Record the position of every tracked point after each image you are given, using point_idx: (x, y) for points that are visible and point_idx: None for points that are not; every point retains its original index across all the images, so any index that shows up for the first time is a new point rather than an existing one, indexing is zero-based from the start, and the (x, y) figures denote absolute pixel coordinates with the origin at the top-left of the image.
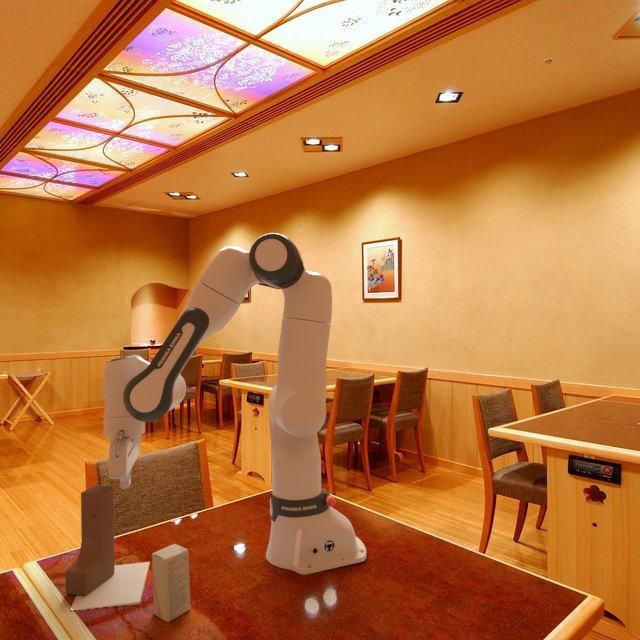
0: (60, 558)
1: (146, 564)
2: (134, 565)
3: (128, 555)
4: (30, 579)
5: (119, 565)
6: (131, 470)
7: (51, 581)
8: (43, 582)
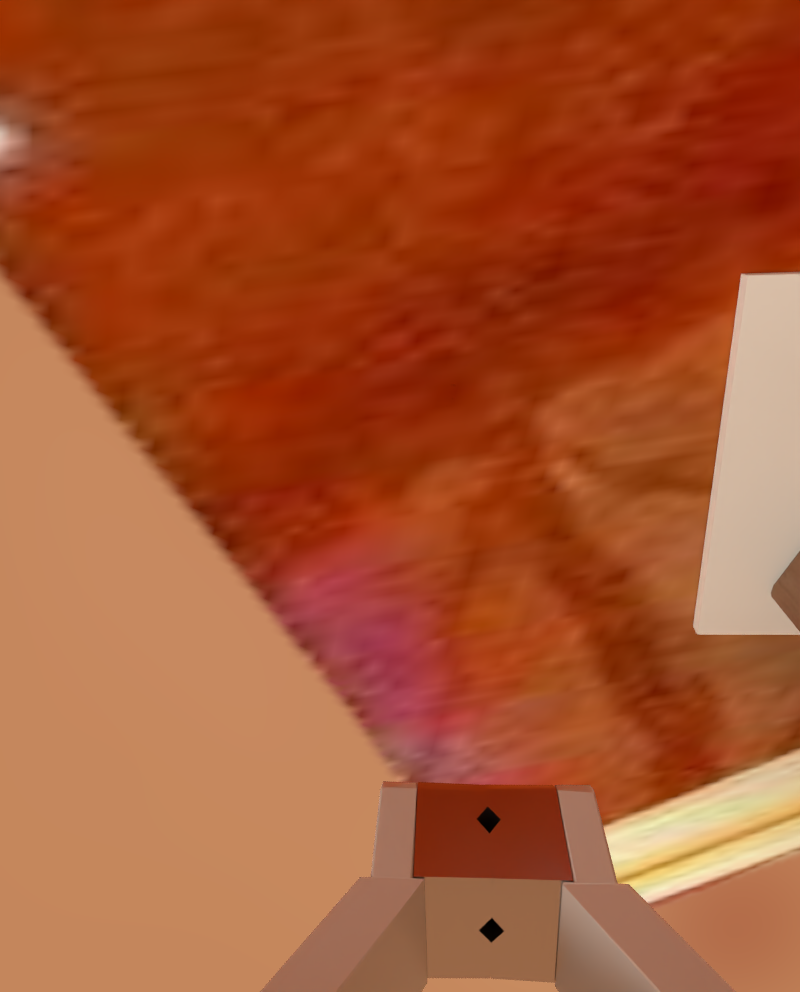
0: None
1: (784, 293)
2: (767, 377)
3: (543, 444)
4: (682, 857)
5: (726, 475)
6: (296, 975)
7: (746, 773)
8: (742, 802)
